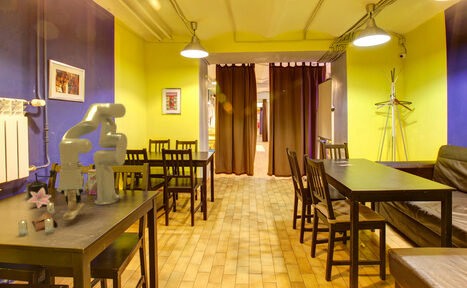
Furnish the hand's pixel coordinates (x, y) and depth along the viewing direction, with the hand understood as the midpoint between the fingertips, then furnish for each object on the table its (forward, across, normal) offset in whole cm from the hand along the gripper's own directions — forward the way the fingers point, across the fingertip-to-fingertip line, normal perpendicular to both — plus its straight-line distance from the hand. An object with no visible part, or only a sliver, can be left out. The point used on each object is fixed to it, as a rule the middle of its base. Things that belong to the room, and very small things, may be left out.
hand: (73, 202), depth 130 cm
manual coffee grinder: (+11, +35, -48) cm, 61 cm away
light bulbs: (+9, +10, +1) cm, 14 cm away
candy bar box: (+11, +2, -48) cm, 50 cm away
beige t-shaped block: (+5, 0, 0) cm, 5 cm away
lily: (+10, +28, -28) cm, 41 cm away
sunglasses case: (+9, +13, +3) cm, 16 cm away
